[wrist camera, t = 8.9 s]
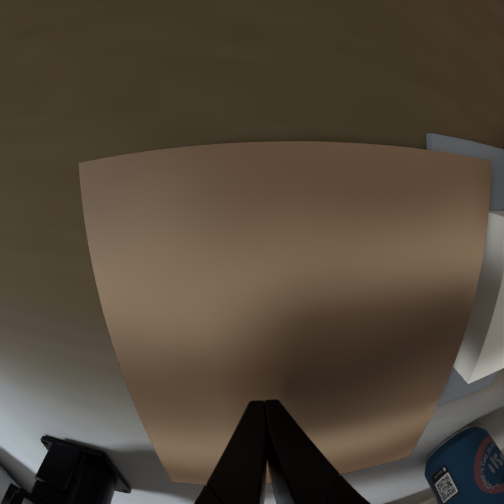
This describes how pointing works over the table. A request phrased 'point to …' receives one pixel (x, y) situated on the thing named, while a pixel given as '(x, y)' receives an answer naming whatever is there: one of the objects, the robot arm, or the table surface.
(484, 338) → the white rectangular block
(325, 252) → the tan square plate
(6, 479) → the serving bowl
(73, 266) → the table surface
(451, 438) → the soda can
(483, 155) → the mat
